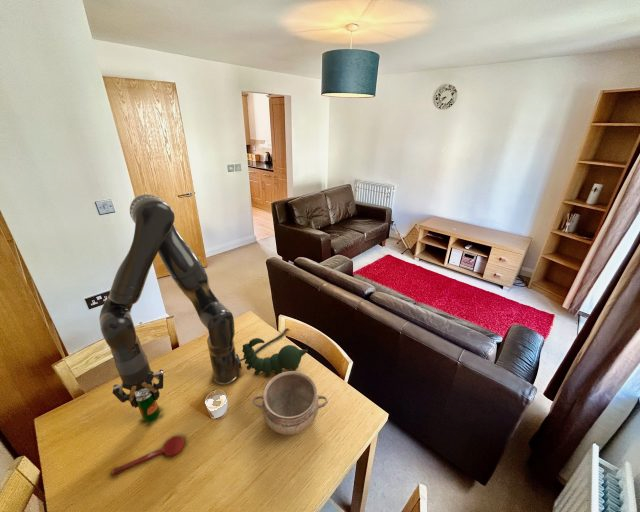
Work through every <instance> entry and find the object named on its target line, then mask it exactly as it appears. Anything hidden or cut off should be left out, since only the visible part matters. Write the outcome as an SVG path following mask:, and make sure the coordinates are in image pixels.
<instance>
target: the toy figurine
mask: <svg viewBox="0 0 640 512" xmlns="http://www.w3.org/2000/svg"><path fill="white" fill-rule="evenodd" d="M259 344H266V343H265V340H264V339H262V338H260V337H256V338H252V339H250V340H249V342H248V343H244V344H242V351H241V352H242V353H243V356H242V358H246V359H245V360H244V364H245V365H246V366H245V367H246V370H248V371H249V370H251V369H254V375H255V376H256V377H257V376H260V374H261V372H262V373H263V374H265V377H266V378H269V377H270V376H271V375H272V373H273V372H275V374H276V375H278V374H280V373H283V370H285V371H286V370H287V371H297V369H298V368H299V365H300V364H301V361H302V357H303V356H305V355H306V354H307V353H308V352H309V350H308V349H300V348H299V347H298V346H295V345H292V344H287V345H285V346H282V347H281V348H280V350H278V353H274V354H272V355H271V356H270V357H269V356H267V357H263V358H262V357H259V356H258V355H257V353H255V349H254V348H253V347H255V346H256V345H259Z"/></svg>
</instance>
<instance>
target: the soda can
mask: <svg viewBox="0 0 640 512" xmlns="http://www.w3.org/2000/svg"><path fill="white" fill-rule="evenodd" d="M135 400H136V403H137V405H138V407H137V408H138V411H139V412H140V415H141V417H142V420H143V421H144V422H145V423H151V422H153V421H155V420H156V419H158V417H159V416H160V414H161V409H160V407H159V403H158V400H155V398H154V395H153V392H152V391H151V390H148V389H147V388H145V389H141V390H139V391H136V392H135Z"/></svg>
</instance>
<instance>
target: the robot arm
mask: <svg viewBox="0 0 640 512" xmlns="http://www.w3.org/2000/svg"><path fill="white" fill-rule="evenodd" d="M130 202H131V203H130V205H129V216H130V218H131V220H132V222H133V223H134V225H135V226H134V233H133V238H132V242H131V245H130V248H129V250H128V252H127V254H126V255H125V257H124V259H123V260H122V262H121V263H120V265H119V266H118V269H117V270H116V273H115V276H114V278H113V281H112V285H111V287H110V291H109V294H108V296H107V297H106V299H105V301H104V302H103V305H102V307H101V309H100V312H99V316H98V321H99V326H100V331H101V334H102V337H103V338H104V341H105V343H106V344H107V346H108V347H109V349H110V352H111V355H112V357H113V359H114V364H115V367H116V370H117V372H118V375H119V377H120V380H121V382H122V383H119V384H114V385H113V386H112V394H113V395H114V397H116V398H117V399H118V400H119V401H120V402H121V403H125V402H127V401H128V402H129V404H130V406H131V407H132V408H135V409H136V408H138V405H137V403H136V400H135V394H136V392H137V391H139V390H141V389H145V388H147V389H148V390H151V391H152V392H153V395H154V398H155V400H157V401H158V400H159V398H160V391H159V390H162V389H163V388H164V377H165V375H164V369H159V370H158V371H156V372H154V371H153V370H152V369H151V366H150V363H149V361H148V357H147V355H146V352H145V350H144V349H143V345H142V343H141V340H140V338H139V336H138V334H137V331H136V328H135V324H134V321H133V318H132V315H131V312H132V308H133V306H134V305H135V304H136V303H137V302H139V300H140V298H141V295H142V293H143V291H144V288H145V284H146V282H147V278H148V276H149V273H150V270H151V267H153V264H154V262H155V259H156V256H157V254H158V256H159V258H160V260H161V262H162V263H163V265H164V267H165V270H166V271H167V272H168V274H169V276H170V278H172V280H173V282H174V283H175V285H176V287H178V288H179V290H180V291H181V292H182V294H183V295H185V297H186V298H187V299H188V300H189V301H190V302H191V304H192V305H193V308H194V309H195V311H196V314H197V316H198V318H199V320H200V322H201V323H202V324H203V326H204V327H205V328H206V329H207V331H208V336H207V338H206V343H207V348H208V354H209V358H210V364H211V365H210V366H211V369H212V376H213V381H214V382H215V383H216V384H217V385H221V386H224V385H225V386H227V385H230V384H231V383H233V382H234V381H236V380H237V378H238V377H239V378H240V377H241V375H240V369H242V367H243V366H242V361H246V358H244V357H242V358H240V356H239V354H238V353H236V346H235V339H234V338H235V335H236V330H235V320H234V319H235V318H234V315H233V313H232V312H231V310H229V309H228V308H227V307H226V306H225V305H224V304H223V303H222V302H221V301H220V300H219V299H218V298H217V296H216V295H215V294H214V292H213V290H212V289H211V286H210V280H209V276H208V274H207V271H206V269H205V268H204V266H203V264H202V262H201V260H200V259H199V257H198V256H197V255H196V254H195V252H194V250H193V249H192V248H191V247H190V246H189V244H188V243H187V242H186V240H184V239H183V238H182V235H180V233H179V231H178V230H177V228H176V225H175V224H174V223H175V218H176V216H175V212H174V210H173V208H172V207H171V205H169V204H168V203H167V202H166V201H165V200H164V199H162V198H160V197H159V196H156V195H154V194H148V193H145V194H139V195H137V196H136V197H134V198H133V199H132V201H130ZM289 330H290V328H288V327H287V328H285V329H284V330H283V332H282V333H281V334H280V335H278V336H277V337H275V338H272V339H271V340H269V341H268V342H266V343H263V345H262V346H260V347H258V349H257V350H256V351H254V353H256V354H258V352H259V351H261V350H262V349H263V348H265V347H266V346H268V345H269V344H271V343H272V342H274V341H277V340H278V339H280V338H281V337H283V336H284V335H285V333H286V331H289ZM154 378H156V379H157V380H158V383H156V382H155V381H154V380H153V379H154ZM123 389H126V390H129V393H127V392H125V390H123Z"/></svg>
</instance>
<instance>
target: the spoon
mask: <svg viewBox="0 0 640 512" xmlns="http://www.w3.org/2000/svg"><path fill="white" fill-rule="evenodd" d="M184 445H185V440H184V439H183V437H182V436H180V435H179V436H178V435H175V436H173V437H171V438H169V439H168V440H166V442H165V443H164V446H163V447H161V448H158V449H156V450H155V451H152V452H150V453H148V454H145V455H143V456H141V457H138V458H136V459H135V460H132V461H130V462H128V463H124V464H123V465H121V466H118V467H116V468H114V469H113V470H112V471H111V475H112V476H116V475H118V474H120V473H122V472H124V471H126V470H127V471H128V470H129V469H131V468H133V467H136V466H138V465H140V464H142V463H144V462H146V461H149V460H152V459H153V458H155V457H158V456H160V455H162V454H164V455H165V457H168V458H171V457H172V458H173V457H175V456H177V455H178V454H180V453H181V451H182V450H183V448H184Z"/></svg>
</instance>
